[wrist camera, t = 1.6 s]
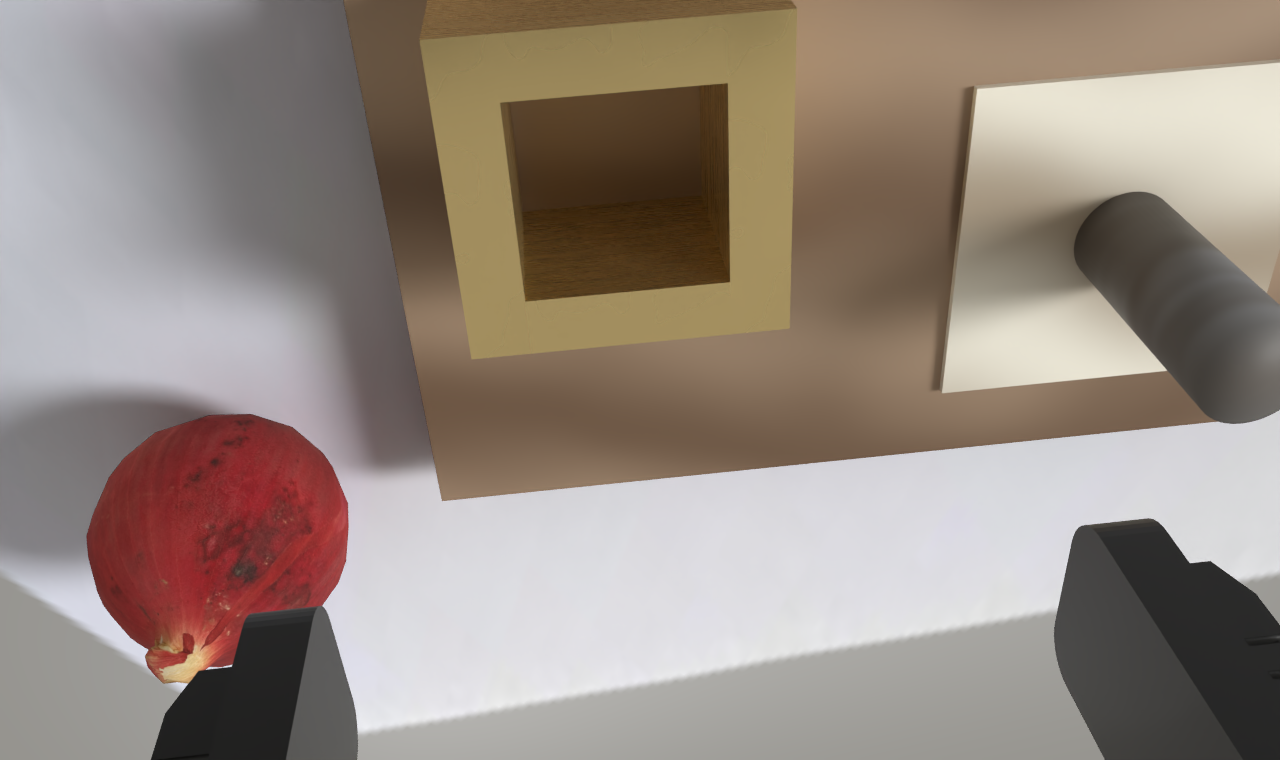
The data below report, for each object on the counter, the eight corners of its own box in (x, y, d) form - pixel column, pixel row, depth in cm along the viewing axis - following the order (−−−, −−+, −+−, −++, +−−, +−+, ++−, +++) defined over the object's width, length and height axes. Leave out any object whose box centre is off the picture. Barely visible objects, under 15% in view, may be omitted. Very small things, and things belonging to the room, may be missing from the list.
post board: (323, -190, 22) (246, -106, 16) (1403, -270, 23) (1753, -221, 17) (445, 454, 31) (428, 679, 25) (1221, 375, 32) (1404, 571, 26)
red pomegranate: (244, 311, 28) (163, 524, 22) (408, 449, 31) (381, 674, 25) (90, 436, 30) (-28, 670, 23) (260, 557, 33) (197, 795, 26)
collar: (432, -24, 22) (419, 39, 19) (755, -50, 23) (797, 8, 19) (476, 263, 26) (471, 359, 23) (754, 238, 26) (789, 328, 23)
